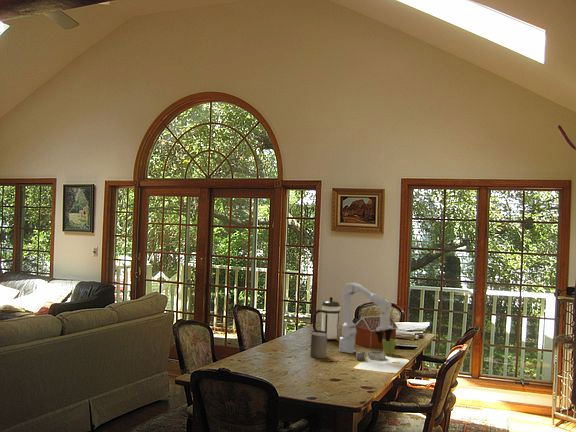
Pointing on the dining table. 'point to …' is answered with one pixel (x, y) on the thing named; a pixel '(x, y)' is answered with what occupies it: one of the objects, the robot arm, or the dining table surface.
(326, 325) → the coffee press
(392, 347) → the plant pot
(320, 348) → the pillar candle
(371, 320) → the gingerbread house
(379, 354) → the faceted ring
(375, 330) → the robot arm
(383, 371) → the dining table surface
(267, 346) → the dining table surface
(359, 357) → the cap
